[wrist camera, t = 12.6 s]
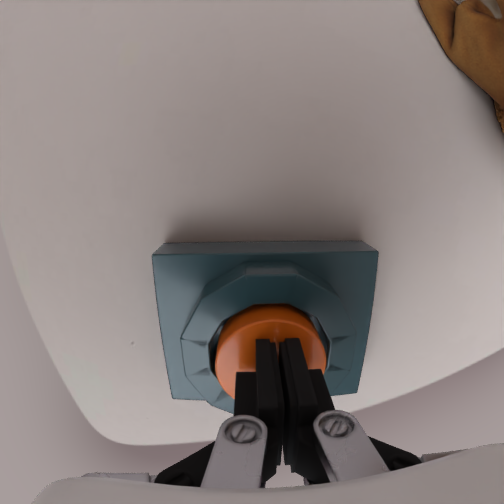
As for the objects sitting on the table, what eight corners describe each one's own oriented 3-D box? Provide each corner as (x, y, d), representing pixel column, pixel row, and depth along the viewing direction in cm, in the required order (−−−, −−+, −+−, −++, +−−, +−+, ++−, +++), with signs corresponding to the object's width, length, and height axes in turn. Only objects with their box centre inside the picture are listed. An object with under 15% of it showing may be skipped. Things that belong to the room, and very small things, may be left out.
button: (220, 385, 14) (218, 409, 12) (215, 301, 13) (211, 320, 11) (313, 382, 14) (320, 406, 12) (321, 299, 13) (332, 317, 11)
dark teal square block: (178, 376, 17) (165, 421, 14) (163, 242, 15) (137, 266, 12) (347, 371, 18) (366, 414, 14) (362, 240, 16) (396, 262, 12)
